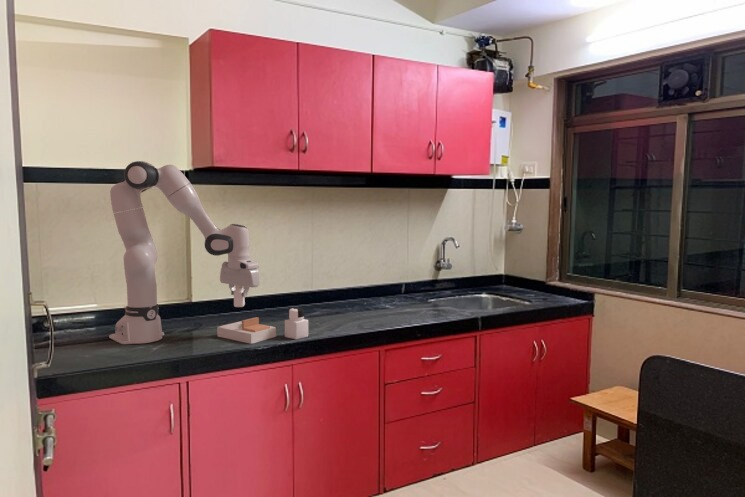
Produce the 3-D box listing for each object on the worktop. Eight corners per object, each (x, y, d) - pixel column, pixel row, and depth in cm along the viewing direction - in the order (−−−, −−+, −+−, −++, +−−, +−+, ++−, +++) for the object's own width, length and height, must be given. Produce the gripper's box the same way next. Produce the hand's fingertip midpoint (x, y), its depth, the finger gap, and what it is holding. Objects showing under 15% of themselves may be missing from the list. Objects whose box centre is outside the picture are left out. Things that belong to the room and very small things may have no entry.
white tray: (217, 336, 232) (217, 326, 231) (242, 329, 243) (242, 320, 243) (251, 343, 221) (251, 333, 220) (276, 336, 232) (275, 327, 232)
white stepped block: (297, 333, 237) (296, 306, 236) (308, 336, 233) (308, 308, 232) (284, 336, 232) (284, 308, 231) (296, 339, 227) (296, 311, 226)
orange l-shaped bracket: (241, 329, 227) (241, 320, 227) (256, 325, 234) (256, 317, 234) (255, 332, 223) (254, 323, 223) (269, 328, 230) (269, 319, 230)
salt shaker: (243, 307, 231) (243, 284, 230) (233, 307, 231) (233, 284, 230) (244, 305, 235) (244, 283, 234) (235, 305, 235) (235, 283, 234)
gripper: (216, 261, 235) (216, 294, 236) (250, 265, 223) (250, 299, 225) (227, 260, 240) (228, 292, 241) (261, 264, 229) (261, 297, 230)
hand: (239, 295), depth 233 cm, fingers closed on salt shaker, 5 cm apart
